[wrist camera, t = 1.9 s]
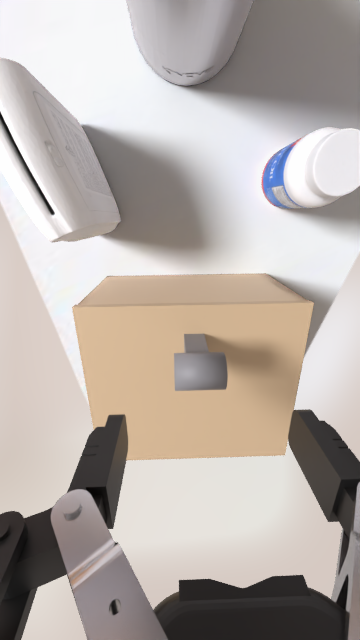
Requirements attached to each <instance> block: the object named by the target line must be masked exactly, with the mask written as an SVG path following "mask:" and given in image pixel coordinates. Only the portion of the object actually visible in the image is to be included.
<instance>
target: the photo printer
mask: <svg viewBox="0 0 360 640" xmlns="http://www.w3.org/2000/svg"><path fill="white" fill-rule="evenodd" d="M0 169H1V171H2V173H3V174H4V176H5V178H6V180H7V181H8V183H9V185H10V186H11V188H12V190H13V191H14V193H15V195H16V196H17V198H18V199H19V201H20V203H21V204H22V206H23V207H24V209H25V210H26V212H27V213H28V215H29V216H30V218H31V219H32V220H33V222H34V223H35V225H36V226H37V227H38V228H39V230H40V231H41V232H42V233H43V234H44V235H45V236H46V237H47V238H48V239H49V240H50V241H51V242H58V241H68V242H70V241H78V240H82V239H86V238H91V237H95V236H99V235H103V234H107V233H110V232H111V231H113V230H114V229H115V228H116V227H117V225H118V223H119V222H121V218H120V213H119V210H118V207H117V204H116V202H115V199H114V197H113V194H112V192H111V190H110V187H109V185H108V182H107V180H106V178H105V175H104V173H103V171H102V168H101V166H100V164H99V161H98V159H97V157H96V155H95V152H94V150H93V148H92V146H91V144H90V142H89V139H88V137H87V135H86V133H85V132H84V130H83V128H82V126H81V125H80V123H79V122H78V120H77V119H76V118H75V117H74V116H73V115H72V114H71V113H70V112H69V111H68V110H67V109H66V108H65V107H64V106H63V105H62V104H61V103H60V102H59V101H58V100H57V99H56V98H55V97H54V96H53V95H52V94H51V93H50V92H49V91H48V90H47V89H46V88H45V87H44V86H43V85H42V84H41V83H40V82H39V81H38V80H37V79H36V78H35V77H34V76H33V75H32V74H31V73H30V72H29V71H28V70H27V69H26V68H25V67H23V66H22V65H21V64H19V63H17V62H15V61H12V60H9V59H5V58H0Z"/></svg>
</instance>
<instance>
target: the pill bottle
mask: <svg viewBox="0 0 360 640" xmlns="http://www.w3.org/2000/svg"><path fill="white" fill-rule="evenodd" d="M261 185H262V191H263V193H264V196H265V197H266V199H267V200H268V201H269V202H270V203H271V204H272V205H274V206H276V207H279V208H317V207H322V206H326V205H328V204H330V203H333V202H334V201H336V200H337V199H339V198H340V197H341V196H344V195H347V194H349V193H351V192H353V191H354V190H355V189H357V188H358V187H359V186H360V130H358V129H355V128H346V129H339V128H334V127H326V128H321V129H318V130H316V131H313V132H311V133H309V134H307V135H306V136H304V137H302V138H301V139H299V140H297V141H295V142H294V143H292V144H290V145H288V146H287V147H285V148H283V149H281V150H280V151H278V152H277V153H275V154H274V155H273V156H272V157H271V158H270V159H269V161H268V162H267V164H266V166H265V168H264V170H263V173H262V179H261Z"/></svg>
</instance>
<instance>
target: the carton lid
mask: <svg viewBox="0 0 360 640" xmlns="http://www.w3.org/2000/svg"><path fill="white" fill-rule="evenodd" d="M313 306H314V302H312V301H310V300H305V301H253V302H201V303H149V304H96V305H74V306H73V307H72V309H73V315H74V321H75V326H76V332H77V338H78V343H79V349H80V354H81V360H82V366H83V371H84V377H85V383H86V388H87V394H88V400H89V405H90V411H91V417H92V422H93V428H94V429H95V428H96V427H105V425H106V421H107V418H108V416H109V415H117V414H125V416H126V423H127V432H128V453H127V458H126V460H151V459H181V458H211V457H212V458H213V457H244V456H276V455H285V452H286V446H287V441H288V433H289V427H290V422H291V417H292V412H293V410H294V405H295V399H296V394H297V389H298V384H299V379H300V373H301V368H302V363H303V358H304V353H305V348H306V343H307V337H308V332H309V327H310V322H311V316H312V311H313Z"/></svg>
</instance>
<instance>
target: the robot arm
mask: <svg viewBox="0 0 360 640" xmlns="http://www.w3.org/2000/svg"><path fill="white" fill-rule="evenodd" d="M253 1H254V0H126V2H127V6H128V11H129V15H130V20H131V24H132V29H133V33H134V37H135V40H136V43H137V45H138V48H139V50H140V52H141V54H142V56H143V57H144V59H145V61H146V62H147V64H148V65H149V66H150V67H151V68H152V69H153V70H154V72H155V73H157V74H158V75H159V76H161V77H162V78H163V79H165V80H167V81H169V82H172V83H174V84H177V85H185V86H189V85H197V84H200V83H202V82H205V81H207V80H209V79H210V78H212V77H213V76H215V75H216V74H217V73H218V72H219V71H220V70H221V69H222V68H223V67H224V66H225V65H226V63H227V62H228V60H229V58H230V57H231V55H232V53H233V52H234V49H235V47H236V44H237V42H238V39H239V37H240V34H241V31H242V29H243V26H244V24H245V21H246V19H247V16H248V14H249V12H250V9H251V6H252V4H253ZM288 441H289V445H290V448H291V450H292V452H293V454H294V456H295V458H296V460H297V462H298V464H299V466H300V467H301V470H302V472H303V473H304V475H305V477H306V479H307V481H308V483H309V485H310V487H311V489H312V491H313V493H314V495H315V497H316V499H317V501H318V503H319V505H320V507H321V509H322V510H323V513H324V515H325V516H326V519H327V520H328V522H334V521H335V522H337V521H339V522H340V524H341V526H342V528H343V530H342V533H341V540H340V547H339V555H338V563H337V571H336V579H335V585H334V589H333V593H332V597H331V599H330V598H328V597H327V596H325V595H323V594H322V593H320V592H318V591H316V590H314V589H311V588H308V587H307V585H306V582H305V579H304V577H303V575H296V576H295V575H293V576H273V577H270V578H268V579H265V580H263V581H261V582H258V583H256V584H254V585H252V586H249V587H247V588H238V587H235V586H232V585H228V584H225V583H222V582H218V581H215V580H211V579H197V580H179V592H176V593H174V594H172V595H170V596H169V597H167V598H166V599H164V600H163V601H162V602H161V603H160V604H158V605H157V606H156V607H155V609H154V610H153V609H152V607H151V605H150V603H149V601H148V599H147V597H146V595H145V593H144V591H143V589H142V588H141V585H140V584H139V581H138V579H137V578H136V576H135V574H134V572H133V570H132V568H131V566H130V564H129V562H128V560H127V558H126V556H125V554H124V552H123V550H122V548H121V546H120V545H119V544H118V543H115V541H114V540H113V538H112V536H111V534H110V532H109V530H108V529H113V527H114V522H115V516H116V511H117V506H118V500H119V494H120V490H121V484H122V479H123V474H124V468H125V464H126V458H127V453H128V432H127V423H126V416H125V414H117V415H109V416H108V418H107V421H106V425H105V427H96V428H95V429H94V431H93V432H92V433H91V434H90V435H89V437H88V440H87V443H86V445H85V448H84V450H83V453H82V456H81V458H80V461H79V463H78V466H77V469H76V472H75V474H74V477H73V479H72V482H71V484H70V487H69V489H68V492H67V493H66V494H65V495H63V496H62V497H61V498H60V499H59V500H58V501H57V502H56V504H55V505H54V506H53V507H52V508H50V509H48V510H46V511H44V512H41V513H38V514H35V515H32V516H30V517H27V518H23V516H22V515H21V514H20V513H19V512H15V511H10V512H5V513H2V514H0V640H21V638H22V635H23V631H24V629H25V625H26V622H27V619H28V616H29V613H30V610H31V606H32V603H33V600H34V597H35V594H36V591H37V588H38V587H39V586H41V585H44V584H46V583H48V582H51V581H53V580H55V579H57V578H60V577H62V576H64V575H66V574H67V576H68V579H69V582H70V586H71V589H72V592H73V595H74V598H75V601H76V605H77V607H78V611H79V614H80V617H81V621H82V624H83V627H84V630H85V633H86V636H87V640H360V462H359V460H358V459H357V458H356V456H355V455H354V454H353V453H352V452H351V450H350V449H348V446H347V445H346V443H345V442H344V441H342V438H341V437H340V436H339V434H338V433H337V432H336V430H335V429H334V428H333V427H331V426H330V425H328V424H327V423H326V422H325V421H319V420H318V418H317V417H316V416H315V414H314V413H313V412H312V411H311V410H294V411H293V412H292V417H291V422H290V427H289V433H288Z"/></svg>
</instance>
